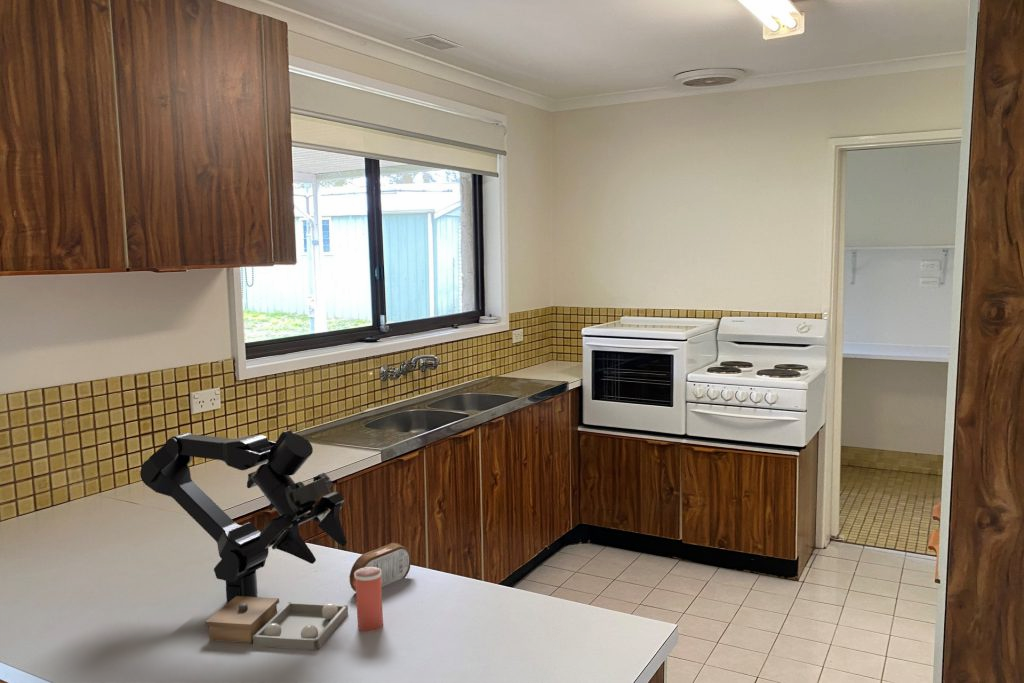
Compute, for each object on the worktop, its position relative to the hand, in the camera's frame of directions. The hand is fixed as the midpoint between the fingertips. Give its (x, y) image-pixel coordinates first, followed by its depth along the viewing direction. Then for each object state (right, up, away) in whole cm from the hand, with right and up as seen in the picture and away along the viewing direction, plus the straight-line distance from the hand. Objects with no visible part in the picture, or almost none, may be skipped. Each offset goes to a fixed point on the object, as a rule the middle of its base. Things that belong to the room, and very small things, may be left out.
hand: (330, 553), depth 149 cm
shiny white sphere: (-9, -14, -7) cm, 17 cm away
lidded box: (-15, -14, -2) cm, 21 cm away
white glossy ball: (-2, -14, -8) cm, 16 cm away
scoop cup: (+8, -13, -2) cm, 16 cm away
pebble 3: (0, -13, +1) cm, 13 cm away
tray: (-4, -14, -3) cm, 15 cm away
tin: (+7, -12, +16) cm, 21 cm away
